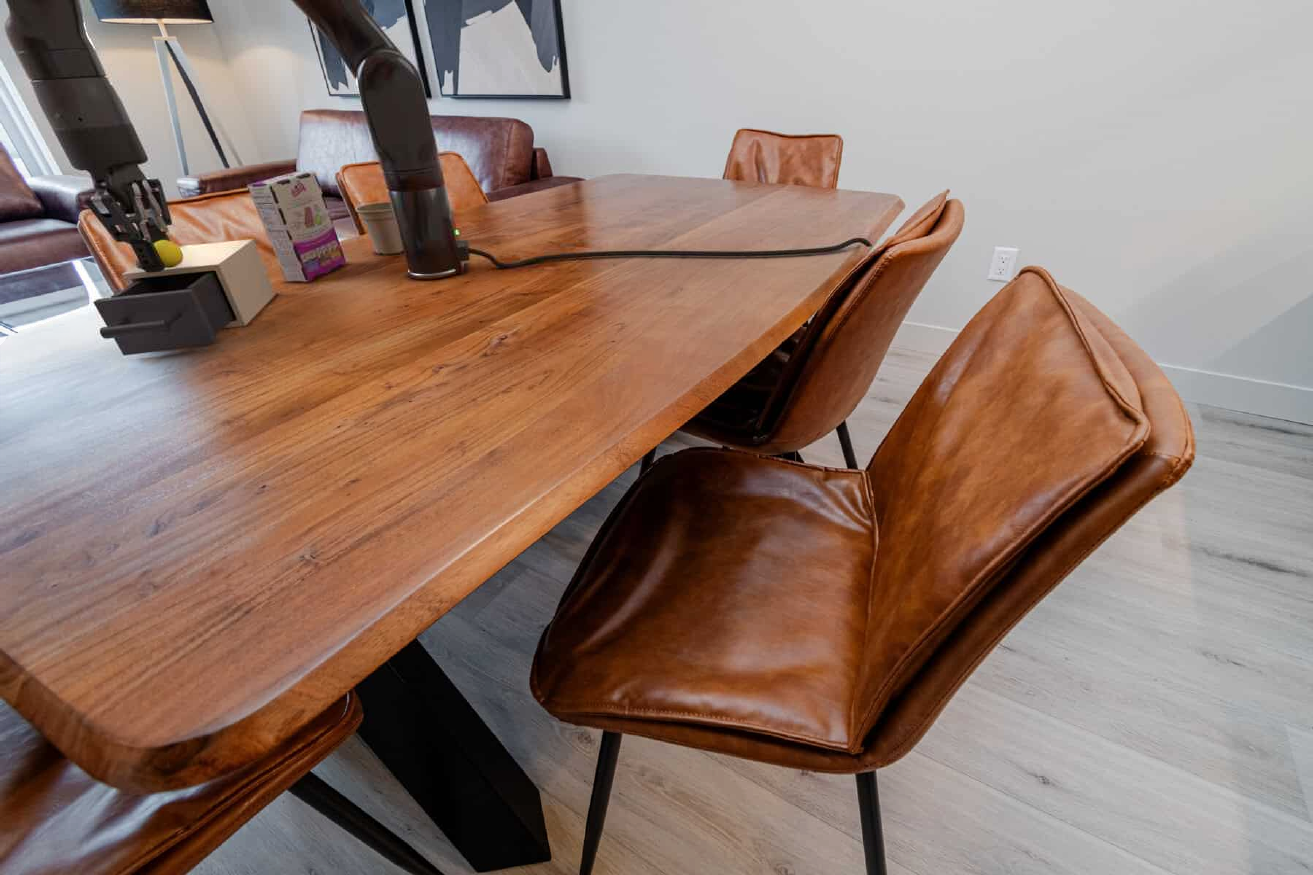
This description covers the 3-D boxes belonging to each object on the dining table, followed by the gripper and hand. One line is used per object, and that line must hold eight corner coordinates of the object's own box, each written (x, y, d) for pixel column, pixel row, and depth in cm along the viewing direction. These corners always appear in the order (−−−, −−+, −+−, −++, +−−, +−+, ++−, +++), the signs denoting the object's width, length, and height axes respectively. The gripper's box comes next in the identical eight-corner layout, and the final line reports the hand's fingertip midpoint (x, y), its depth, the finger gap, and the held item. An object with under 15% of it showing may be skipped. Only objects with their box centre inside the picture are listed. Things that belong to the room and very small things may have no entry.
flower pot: (406, 242, 126) (395, 199, 122) (425, 249, 120) (414, 204, 116) (361, 252, 121) (347, 207, 116) (379, 260, 115) (365, 213, 110)
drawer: (199, 359, 76) (172, 304, 72) (103, 371, 74) (69, 315, 70) (249, 310, 91) (228, 262, 87) (169, 319, 89) (145, 271, 85)
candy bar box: (324, 264, 115) (292, 171, 106) (347, 264, 114) (317, 171, 105) (283, 282, 106) (244, 183, 97) (307, 283, 105) (270, 183, 96)
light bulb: (188, 266, 80) (164, 244, 77) (146, 283, 80) (121, 262, 77) (192, 252, 82) (169, 231, 79) (151, 269, 82) (127, 248, 79)
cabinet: (245, 325, 88) (218, 264, 83) (154, 336, 86) (121, 274, 81) (275, 294, 100) (253, 238, 95) (196, 303, 98) (169, 247, 93)
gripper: (94, 125, 66) (170, 279, 75) (154, 116, 78) (214, 250, 87) (16, 131, 65) (103, 286, 74) (89, 120, 76) (156, 256, 86)
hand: (162, 266), depth 80 cm, fingers closed on light bulb, 3 cm apart
